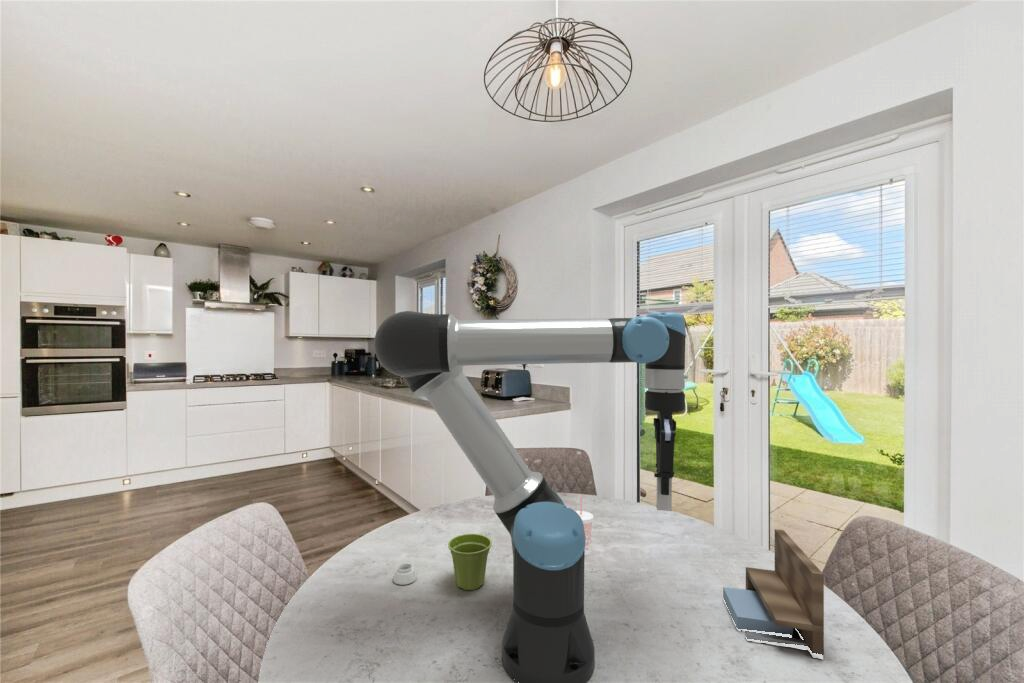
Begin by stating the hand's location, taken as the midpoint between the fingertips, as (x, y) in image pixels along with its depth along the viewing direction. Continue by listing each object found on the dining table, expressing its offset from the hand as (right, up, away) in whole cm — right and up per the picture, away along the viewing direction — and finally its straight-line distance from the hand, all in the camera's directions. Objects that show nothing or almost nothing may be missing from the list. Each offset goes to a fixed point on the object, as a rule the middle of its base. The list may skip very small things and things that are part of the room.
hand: (663, 509), depth 86 cm
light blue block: (+16, -20, -4) cm, 26 cm away
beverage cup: (-13, -20, +22) cm, 32 cm away
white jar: (-54, -19, +9) cm, 58 cm away
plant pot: (-39, -19, +7) cm, 44 cm away
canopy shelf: (+18, -19, -5) cm, 27 cm away
